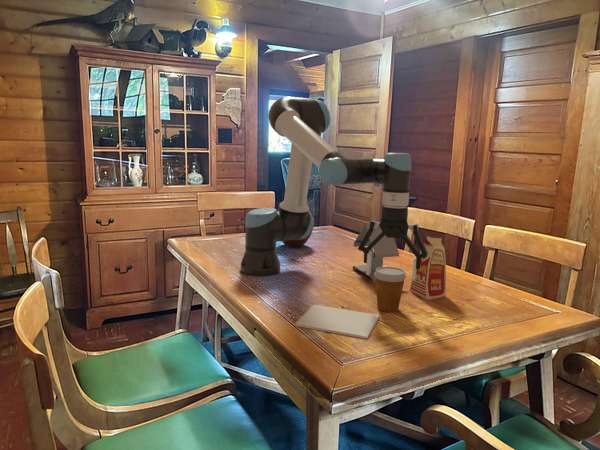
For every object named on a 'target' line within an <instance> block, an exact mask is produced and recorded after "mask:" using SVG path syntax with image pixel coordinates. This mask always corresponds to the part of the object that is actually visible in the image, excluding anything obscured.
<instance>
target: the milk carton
mask: <svg viewBox="0 0 600 450" xmlns="http://www.w3.org/2000/svg"><path fill="white" fill-rule="evenodd" d="M442 240H443V238H435V237H431V236H428V235H426V239H425V240H424V241H423V243H424V245H425V247H426V250H427V252H428V255H427V257H423V258H421V267H420V269H416V279H415V281H414V280H412V279H411V282H410V286H409V292H411V293H413V294H415V295H417V296H419V297H421V298H423V299H425V300H426V301H428V300H433V299H437V298H438V299H439V298H442V297H443V298H444V297H446V296H447V295H446V294H447V263H446V262H447V261H446V249H445V246H444V244H443V243H442ZM419 252H420V253H421V250H420V249H419Z"/></svg>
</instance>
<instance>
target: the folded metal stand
mask: <svg viewBox="0 0 600 450" xmlns="http://www.w3.org/2000/svg"><path fill="white" fill-rule="evenodd" d="M369 227H370V223H365V224H364V226H363V227H362V229H361V231H360V232H359V234H358V235H357V237H356V239H355V240H354V242H353V246H354V247H355V248H356V247H357V248H358V247H359V246H360V244H361V242H362V240H363V239H364V237H365V235H366V233H367V232H368V230H369ZM382 232H383V231H382V230H381V228H380V227H379V226H378V227H377V228H376V229H374V231H373V233H372V234H371V236H370V238H369V240H368V241H367V243H366V245H365V246H364V247H368V246H369V245H370V244H371V243H372V242H373V241H374V240H375V239H376V238H377V237H378V236H379V235H380V234H381V233H382ZM369 252H372V257H371V273H370V274H369V275H367V276H368V277H370V279H371V280H370V282H371V283H372V284H376V277H375V275H374V273H375V272H376V269H377V268H379V267H384V266H383V265H384V258H392V257H393V258H395V257H400V252H399V249H398V246H397V242H396V240H395V238H393V237H392V238H387V237H386V236H385V235H384V236H383V237H382V238H381V239H380V240H379V241H378V242H377V243H376V244H375V245H374V246H373V247H372V248H371V249H370V250H369ZM352 271H360V272H362V273H364V274H365V275H366V272H367V264H364V265H363V264H362V265H353V266H352Z"/></svg>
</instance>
